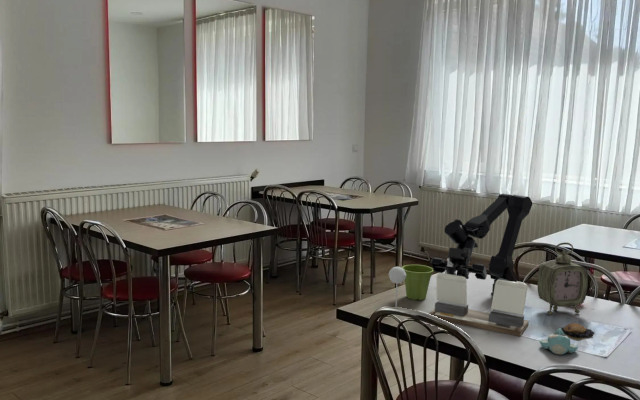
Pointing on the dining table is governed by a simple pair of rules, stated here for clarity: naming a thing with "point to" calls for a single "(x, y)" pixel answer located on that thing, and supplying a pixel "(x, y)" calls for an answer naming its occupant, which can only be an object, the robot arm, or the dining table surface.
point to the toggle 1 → (451, 288)
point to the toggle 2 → (509, 297)
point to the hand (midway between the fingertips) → (451, 289)
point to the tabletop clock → (562, 282)
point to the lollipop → (397, 277)
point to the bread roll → (577, 331)
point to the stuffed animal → (558, 343)
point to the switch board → (481, 318)
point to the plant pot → (417, 281)
